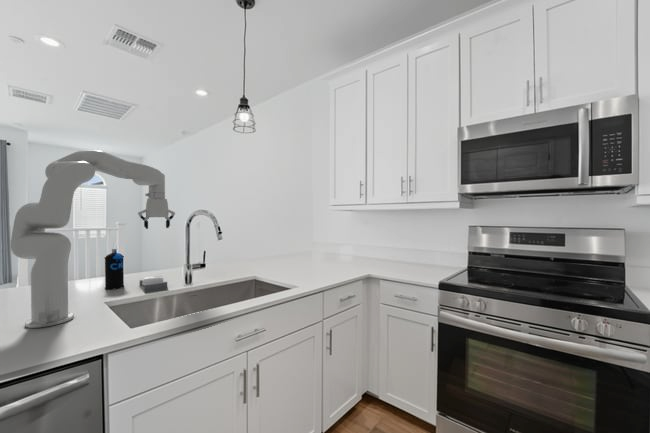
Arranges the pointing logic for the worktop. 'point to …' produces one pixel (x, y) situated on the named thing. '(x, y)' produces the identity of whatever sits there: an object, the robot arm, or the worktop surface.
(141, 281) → the pin tray
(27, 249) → the robot arm
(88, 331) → the worktop surface
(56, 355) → the worktop surface
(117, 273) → the aerosol can
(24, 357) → the worktop surface
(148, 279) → the white rectangular block
